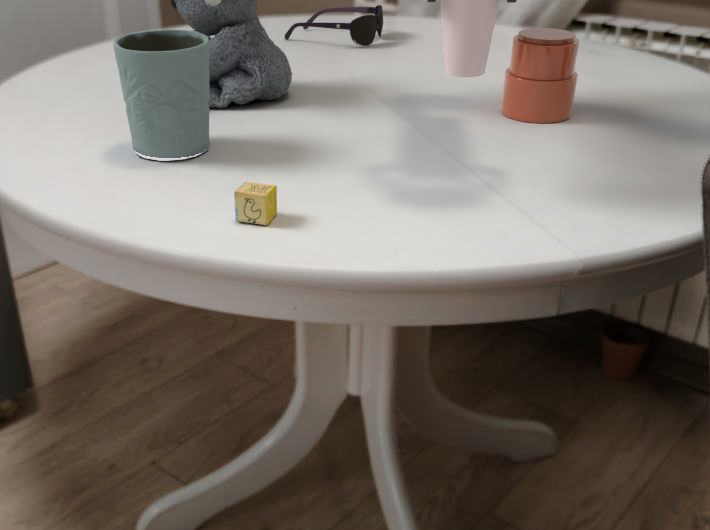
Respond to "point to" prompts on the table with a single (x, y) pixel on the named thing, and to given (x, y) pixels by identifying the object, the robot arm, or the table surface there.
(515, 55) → the upturned cup
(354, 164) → the table surface
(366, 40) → the sunglasses
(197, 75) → the green embossed cup
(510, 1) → the robot arm
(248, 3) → the koala plush
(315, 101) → the table surface
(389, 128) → the table surface
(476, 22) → the smoothie
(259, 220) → the alphabet block
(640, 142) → the table surface
